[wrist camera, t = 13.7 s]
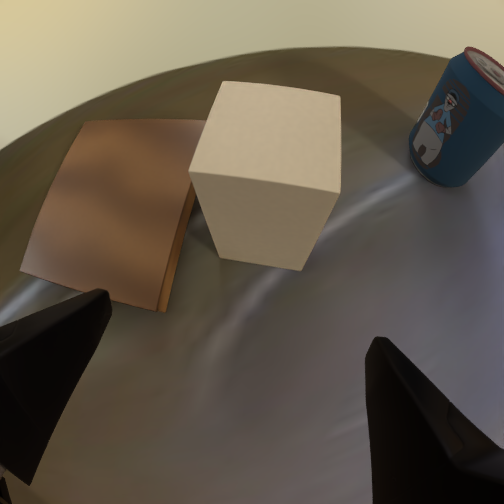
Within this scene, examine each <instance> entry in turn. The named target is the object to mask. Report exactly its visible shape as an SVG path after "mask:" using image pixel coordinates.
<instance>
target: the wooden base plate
mask: <svg viewBox="0 0 504 504" xmlns="http://www.w3.org/2000/svg"><path fill="white" fill-rule="evenodd" d="M205 124H206V120H185V119H120V120H100V121H86V122H85V123H84V125H83V127H82V128H81V130H80V132H79V133H78V135H77V137H76V139H75V140H74V142H73V144H72V146H71V147H70V149H69V151H68V153H67V155H66V157H65V159H64V161H63V163H62V165H61V166H60V168H59V170H58V173H57V175H56V177H55V179H54V181H53V183H52V185H51V187H50V190H49V192H48V194H47V196H46V199H45V201H44V203H43V206H42V208H41V211H40V213H39V216H38V218H37V221H36V223H35V226H34V229H33V231H32V234H31V237H30V240H29V243H28V246H27V249H26V252H25V255H24V258H23V261H22V265H21V268H20V271H21V272H23V273H26V274H29V275H32V276H35V277H38V278H40V279H43V280H46V281H49V282H52V283H55V284H59V285H62V286H65V287H68V288H71V289H74V290H78V291H81V292H84V293H86V292H89V291H91V290H94V289H96V288H100V289H104V290H107V291H108V292H109V295H110V300H112V301H116V302H120V303H123V304H127V305H131V306H135V307H139V308H143V309H147V310H151V311H155V312H157V311H159V312H163V313H165V312H166V309H167V304H168V300H169V295H170V291H171V287H172V283H173V279H174V274H175V270H176V266H177V262H178V259H179V255H180V251H181V247H182V243H183V239H184V236H185V232H186V228H187V225H188V221H189V218H190V214H191V211H192V207H193V204H194V200H195V197H196V192H195V189H194V186H193V183H192V181H191V178H190V175H189V172H188V170H189V167H190V165H191V162H192V159H193V156H194V153H195V151H196V148H197V145H198V142H199V140H200V137H201V134H202V132H203V129H204V127H205Z"/></svg>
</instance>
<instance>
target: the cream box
mask: <svg viewBox="0 0 504 504" xmlns="http://www.w3.org/2000/svg"><path fill="white" fill-rule="evenodd" d="M188 172H189V175H190V178H191V181H192V183H193V186H194V189H195V192H196V195H197V197H198V200H199V203H200V206H201V209H202V211H203V214H204V217H205V220H206V222H207V225H208V228H209V230H210V233H211V236H212V239H213V241H214V244H215V247H216V249H217V252H218V255H219V257H220V258H224V259H230V260H236V261H242V262H248V263H254V264H260V265H266V266H272V267H278V268H284V269H291V270H297V271H301V270H302V268H303V266H304V265H305V263H306V261H307V259H308V257H309V255H310V253H311V251H312V249H313V247H314V245H315V243H316V241H317V239H318V237H319V235H320V233H321V231H322V229H323V227H324V225H325V223H326V221H327V219H328V217H329V215H330V213H331V211H332V209H333V207H334V205H335V203H336V201H337V199H338V197H339V195H340V189H341V104H340V96H337V95H332V94H327V93H322V92H316V91H311V90H305V89H298V88H291V87H284V86H276V85H268V84H258V83H247V82H232V81H223V82H222V85H221V87H220V89H219V92H218V94H217V97H216V99H215V101H214V104H213V106H212V109H211V111H210V114H209V116H208V119H207V121H206V124H205V127H204V129H203V132H202V134H201V137H200V140H199V142H198V145H197V148H196V151H195V153H194V156H193V159H192V162H191V165H190V167H189V170H188Z"/></svg>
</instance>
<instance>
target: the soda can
mask: <svg viewBox="0 0 504 504" xmlns="http://www.w3.org/2000/svg"><path fill="white" fill-rule="evenodd" d="M503 143H504V67H503V66H502V65H501V64H499V63H498V62H497V61H495V60H494V59H493V58H492V57H490V56H489V55H487V54H485V53H484V52H482V51H480V50H478V49H476V48H473V47H466V48H465V50H464V52H463V53H461V54H459V55H457V56H455V57H453V58H451V60H450V61H449V63H448V65H447V67H446V69H445V71H444V73H443V75H442V77H441V79H440V81H439V83H438V84H437V86H436V88H435V90H434V92H433V94H432V96H431V97H430V99H429V101H428V103H427V105H426V106H425V108H424V110H423V112H422V113H421V115H420V117H419V119H418V120H417V122H416V124H415V126H414V127H413V129H412V131H411V133H410V135H409V147H410V154H411V158H412V161H413V163H414V165H415V167H416V168H417V170H418V171H419V172H420V173H421V174H422V175H423V176H424V177H425V178H426V179H427V180H428V181H430V182H431V183H433V184H435V185H437V186H440V187H459V186H462V185H464V184H465V183H466V182H467V181H468V180H469V179H470V178H471V177H472V176H473V175H474V174H475V173H476V172H477V171H478V170H479V169H480V168H481V167H482V166H483V165H484V164H485V163H486V161H487V160H488V159H489V158H490V157H491V156H492V155H493V154H494V153H495V152H496V151H497V149H498V148H499V147H500V146H501V145H502V144H503Z"/></svg>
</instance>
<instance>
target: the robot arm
mask: <svg viewBox="0 0 504 504" xmlns="http://www.w3.org/2000/svg"><path fill="white" fill-rule="evenodd" d="M111 315H112V305H111V300H110V295H109V292H108V291H107V290H104V289H100V288H96V289H94V290H91V291H89V292H86V293H84V294H81V295H79V296H76V297H74V298H71V299H68V300H66V301H63V302H61V303H58V304H56V305H53V306H51V307H48V308H46V309H43V310H41V311H39V312H36V313H34V314H31V315H29V316H26V317H24V318H21V319H19V320H18V321H17V320H16V321H14V322H12V323H9V324H7V325H4V326H2V327H0V504H12V502H11V499H10V496H9V492H8V489H7V485H6V481H5V478H4V477H2V476H3V474H4V472H5V471H6V469H7V470H8V471H10V472H11V473H12V474H14V475H15V476H16V477H17V478H19V479H20V480H21V481H23V482H24V483H26V484H27V485H28V486H30V484H31V482H32V480H33V477H34V475H35V472H36V470H37V467H38V465H39V463H40V460H41V458H42V456H43V453H44V451H45V449H46V447H47V444H48V442H49V441H48V440H50V437H51V435H52V433H53V431H54V429H55V427H56V425H57V422H58V420H59V418H60V416H61V414H62V412H63V410H64V408H65V406H66V404H67V402H68V400H69V398H70V396H71V394H72V393H73V391H74V389H75V387H76V385H77V383H78V381H79V379H80V378H81V376H82V374H83V372H84V370H85V368H86V367H87V365H88V363H89V361H90V359H91V358H92V356H93V354H94V352H95V350H96V348H97V346H98V344H99V342H100V340H101V337H102V335H103V333H104V331H105V329H106V326H107V324H108V322H109V320H110V318H111ZM365 385H366V408H367V417H368V427H369V439H370V452H371V468H372V493H373V504H504V449H502V448H500V447H499V446H498V445H496V444H495V443H494V442H493V441H492V440H491V439H490V438H488V437H487V436H486V435H485V434H484V433H483V432H482V431H481V430H479V429H478V428H477V427H476V426H475V425H474V424H473V423H472V422H471V421H470V420H468V419H467V418H466V417H465V416H464V415H463V414H462V413H461V412H460V411H459V410H458V409H457V408H456V407H455V406H454V404H453V403H452V402H450V401H449V399H448V398H447V397H446V396H445V395H444V394H443V393H442V392H441V391H440V390H439V389H438V388H437V387H436V386H435V385H434V384H433V383H432V382H431V381H430V380H429V379H428V378H427V377H426V376H425V375H424V374H423V373H422V372H421V371H420V370H419V369H418V368H417V367H416V366H415V365H414V364H413V363H412V362H411V361H410V360H409V359H408V358H407V357H406V356H405V355H404V354H403V353H402V352H401V351H400V350H399V349H398V348H397V347H396V346H395V345H394V344H393V343H392V342H391V341H390V340H389V339H388V338H386V337H378V336H377V337H375V338H374V339H373V341H372V343H371V345H370V347H369V350H368V352H367V354H366V357H365Z"/></svg>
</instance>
